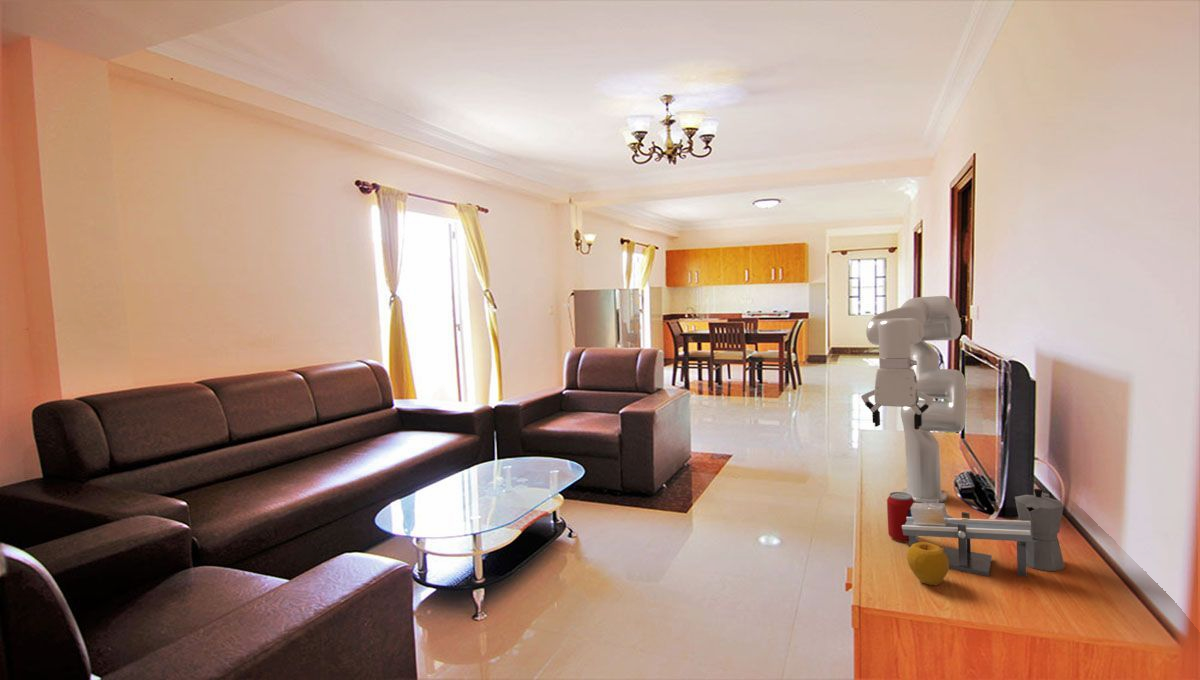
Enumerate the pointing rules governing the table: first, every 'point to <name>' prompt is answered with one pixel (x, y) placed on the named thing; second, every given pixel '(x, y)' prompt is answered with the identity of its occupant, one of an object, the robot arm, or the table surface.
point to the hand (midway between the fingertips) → (896, 427)
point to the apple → (928, 562)
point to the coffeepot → (1042, 529)
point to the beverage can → (898, 514)
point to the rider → (929, 514)
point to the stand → (975, 554)
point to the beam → (975, 529)
